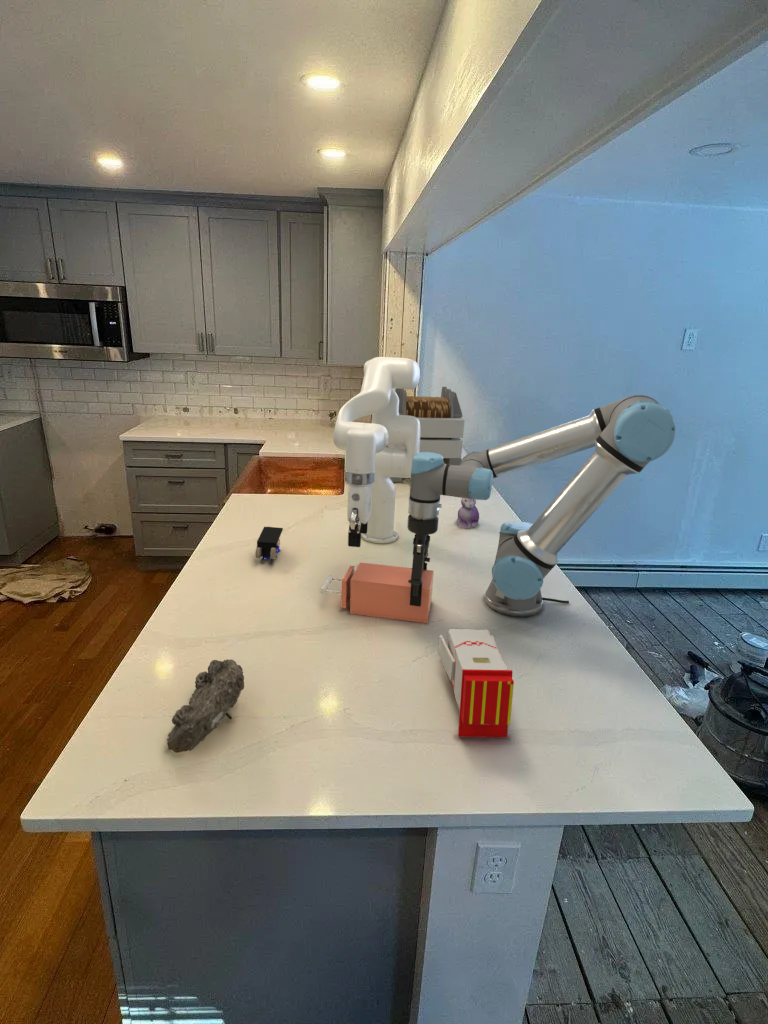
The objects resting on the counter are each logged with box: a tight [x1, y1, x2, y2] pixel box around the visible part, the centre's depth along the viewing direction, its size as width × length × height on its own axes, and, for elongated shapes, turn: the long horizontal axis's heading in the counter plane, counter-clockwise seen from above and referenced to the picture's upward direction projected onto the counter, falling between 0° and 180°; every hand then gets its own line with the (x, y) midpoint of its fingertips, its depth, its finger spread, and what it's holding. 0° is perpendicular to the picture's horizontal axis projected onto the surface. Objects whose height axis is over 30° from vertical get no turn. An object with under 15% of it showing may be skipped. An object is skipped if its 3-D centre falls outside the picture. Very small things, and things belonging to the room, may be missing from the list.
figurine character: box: [254, 526, 284, 564], centre depth 176 cm, size 7×8×15 cm
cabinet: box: [349, 561, 434, 624], centre depth 149 cm, size 20×11×10 cm, turn 80°
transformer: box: [386, 386, 465, 483], centre depth 268 cm, size 34×33×41 cm
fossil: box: [166, 658, 245, 754], centre depth 106 cm, size 22×10×15 cm
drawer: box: [319, 565, 355, 609], centre depth 149 cm, size 25×10×8 cm, turn 80°
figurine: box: [456, 498, 480, 529], centre depth 209 cm, size 9×10×15 cm
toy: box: [437, 628, 515, 738], centre depth 117 cm, size 12×13×30 cm
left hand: (357, 539), depth 150 cm, fingers open, 9 cm apart
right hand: (417, 594), depth 148 cm, fingers closed on cabinet, 11 cm apart
